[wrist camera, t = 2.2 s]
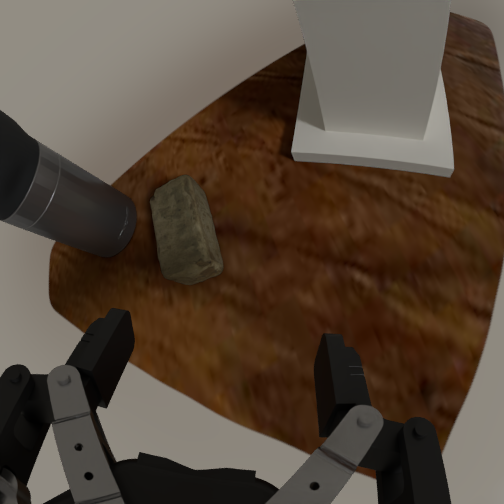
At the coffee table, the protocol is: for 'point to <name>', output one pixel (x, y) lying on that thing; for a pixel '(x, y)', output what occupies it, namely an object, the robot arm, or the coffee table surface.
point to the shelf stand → (374, 85)
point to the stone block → (185, 232)
